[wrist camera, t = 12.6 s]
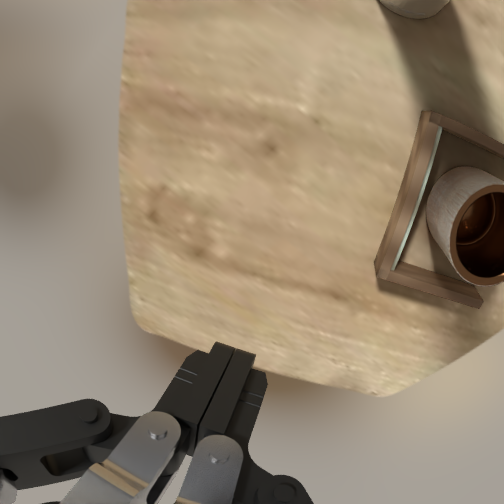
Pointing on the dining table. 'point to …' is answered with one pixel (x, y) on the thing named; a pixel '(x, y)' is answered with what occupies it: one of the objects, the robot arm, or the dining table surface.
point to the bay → (408, 207)
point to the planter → (469, 223)
